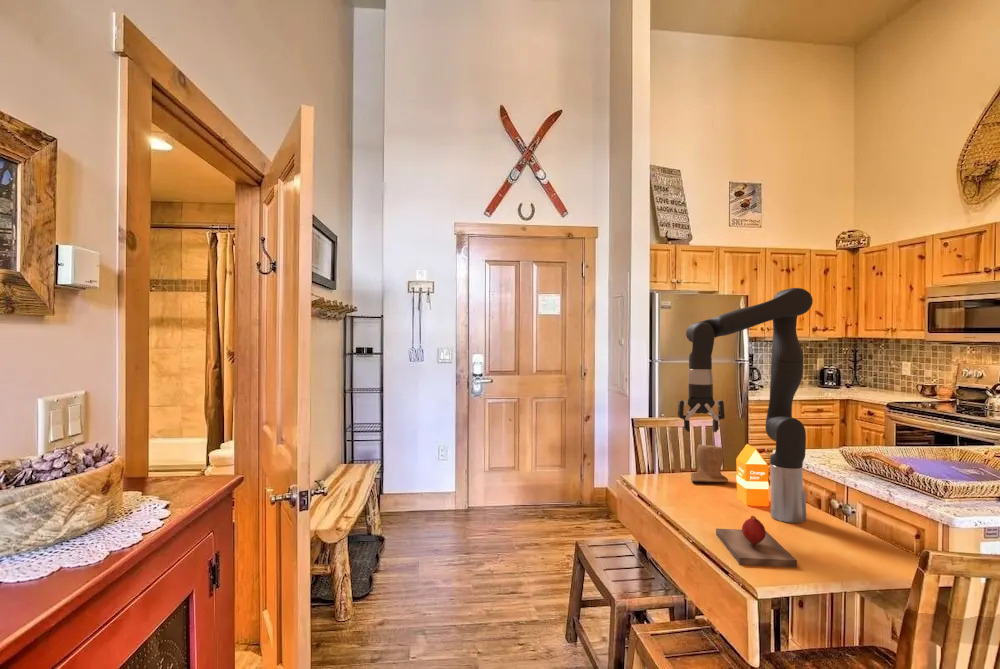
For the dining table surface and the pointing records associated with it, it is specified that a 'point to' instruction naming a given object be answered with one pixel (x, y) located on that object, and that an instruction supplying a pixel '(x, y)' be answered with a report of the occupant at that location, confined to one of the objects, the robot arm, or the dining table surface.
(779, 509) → the robot arm
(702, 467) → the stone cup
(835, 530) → the dining table surface
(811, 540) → the dining table surface
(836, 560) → the dining table surface
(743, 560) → the cutting board
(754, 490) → the orange juice
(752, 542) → the onion
